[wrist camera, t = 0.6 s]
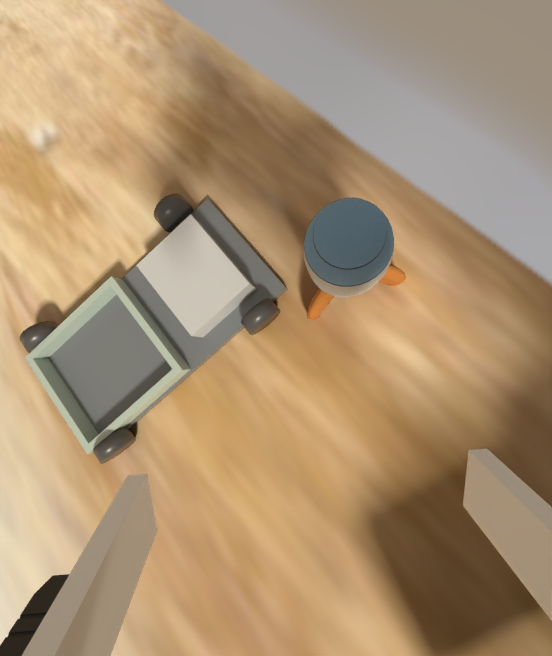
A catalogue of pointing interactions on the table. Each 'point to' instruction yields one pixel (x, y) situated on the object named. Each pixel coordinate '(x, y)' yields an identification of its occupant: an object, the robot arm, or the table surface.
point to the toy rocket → (348, 252)
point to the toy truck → (152, 326)
